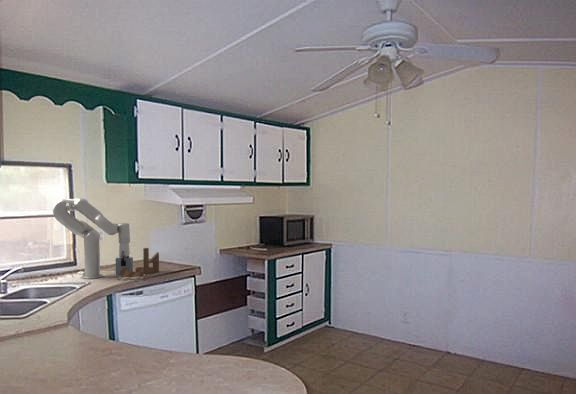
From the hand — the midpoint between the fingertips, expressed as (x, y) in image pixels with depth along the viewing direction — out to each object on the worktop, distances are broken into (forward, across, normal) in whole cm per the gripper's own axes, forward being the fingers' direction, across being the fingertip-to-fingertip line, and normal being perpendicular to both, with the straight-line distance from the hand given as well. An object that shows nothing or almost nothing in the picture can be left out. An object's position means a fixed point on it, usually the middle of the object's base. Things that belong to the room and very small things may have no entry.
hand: (125, 264), depth 294 cm
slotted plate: (+7, 0, -1) cm, 7 cm away
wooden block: (+8, -6, +16) cm, 19 cm away
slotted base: (+7, +11, +7) cm, 15 cm away
